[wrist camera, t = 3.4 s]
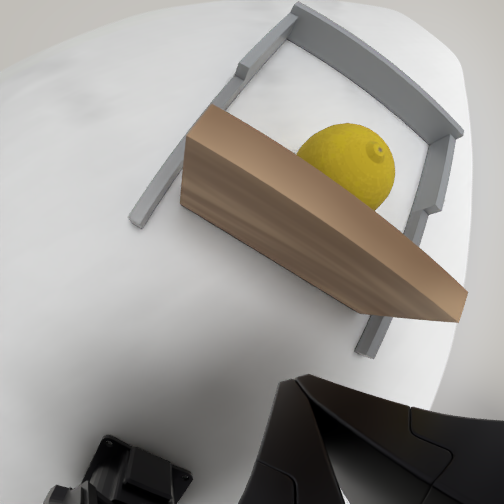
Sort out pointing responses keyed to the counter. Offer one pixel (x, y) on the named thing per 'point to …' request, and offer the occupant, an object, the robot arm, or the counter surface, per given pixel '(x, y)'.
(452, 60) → the counter surface
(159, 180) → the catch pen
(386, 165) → the lemon
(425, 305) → the board
